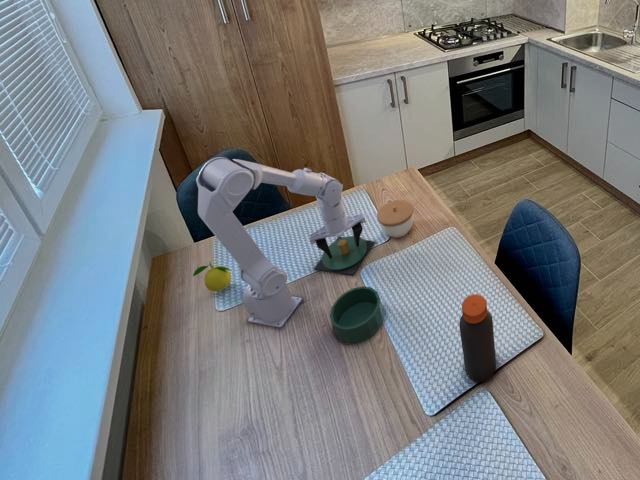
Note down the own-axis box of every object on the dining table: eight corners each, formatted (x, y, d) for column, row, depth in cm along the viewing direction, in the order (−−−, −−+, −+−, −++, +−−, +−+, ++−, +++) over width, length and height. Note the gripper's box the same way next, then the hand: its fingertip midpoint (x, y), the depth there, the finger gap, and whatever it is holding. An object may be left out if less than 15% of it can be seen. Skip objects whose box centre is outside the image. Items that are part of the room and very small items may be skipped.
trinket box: (380, 246, 120) (374, 222, 116) (382, 221, 129) (376, 198, 125) (417, 239, 122) (412, 215, 118) (416, 215, 131) (412, 192, 127)
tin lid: (313, 268, 113) (309, 256, 111) (338, 236, 123) (335, 224, 121) (353, 274, 110) (349, 262, 108) (375, 241, 121) (372, 229, 119)
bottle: (500, 356, 90) (496, 294, 81) (489, 387, 84) (483, 325, 75) (472, 347, 92) (465, 286, 83) (459, 377, 86) (450, 314, 77)
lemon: (202, 294, 107) (188, 267, 103) (224, 276, 112) (211, 250, 107) (219, 302, 105) (205, 275, 100) (240, 284, 109) (228, 257, 105)
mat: (314, 269, 113) (313, 268, 113) (339, 238, 124) (338, 236, 123) (353, 275, 111) (352, 274, 110) (374, 243, 121) (374, 241, 121)
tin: (325, 339, 95) (320, 324, 92) (351, 298, 104) (347, 283, 102) (369, 348, 92) (364, 332, 90) (391, 304, 102) (387, 290, 100)
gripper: (307, 234, 104) (319, 271, 110) (364, 211, 111) (373, 247, 117) (302, 218, 109) (315, 254, 115) (357, 197, 116) (366, 233, 122)
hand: (344, 250), depth 116 cm, fingers open, 7 cm apart
